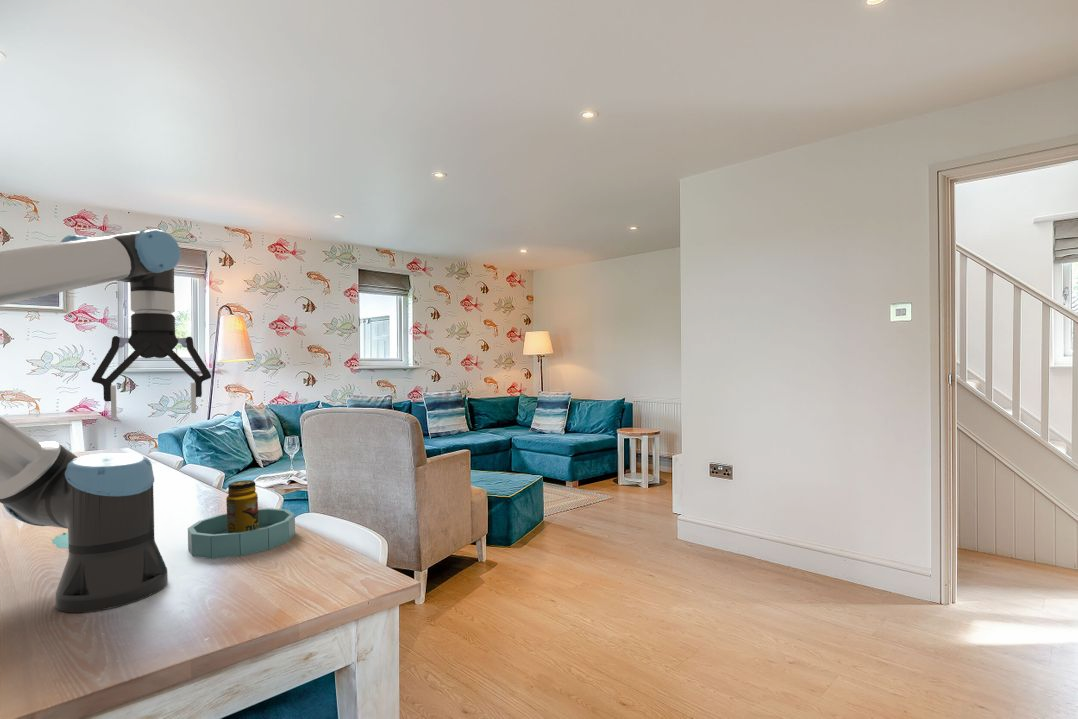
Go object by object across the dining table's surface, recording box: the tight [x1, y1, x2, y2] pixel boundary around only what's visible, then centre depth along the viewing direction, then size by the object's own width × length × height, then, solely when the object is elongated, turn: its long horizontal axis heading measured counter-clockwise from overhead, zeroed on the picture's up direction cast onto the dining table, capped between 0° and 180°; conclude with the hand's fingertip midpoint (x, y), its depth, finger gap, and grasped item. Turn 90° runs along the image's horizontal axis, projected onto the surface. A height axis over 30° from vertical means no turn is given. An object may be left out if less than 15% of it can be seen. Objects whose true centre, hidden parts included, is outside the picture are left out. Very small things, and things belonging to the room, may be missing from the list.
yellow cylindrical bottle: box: [226, 479, 259, 533], centre depth 120 cm, size 7×8×12 cm
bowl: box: [187, 507, 296, 559], centre depth 120 cm, size 20×20×4 cm
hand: (155, 415), depth 114 cm, fingers open, 13 cm apart
